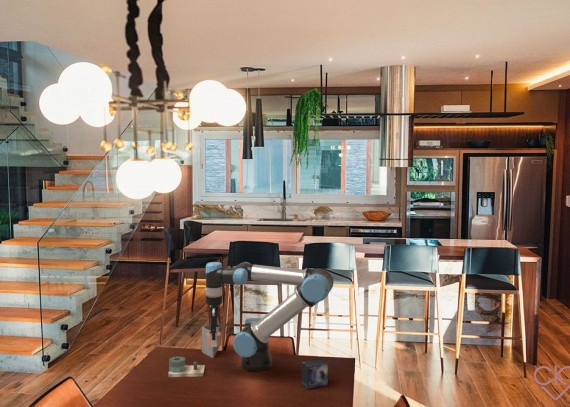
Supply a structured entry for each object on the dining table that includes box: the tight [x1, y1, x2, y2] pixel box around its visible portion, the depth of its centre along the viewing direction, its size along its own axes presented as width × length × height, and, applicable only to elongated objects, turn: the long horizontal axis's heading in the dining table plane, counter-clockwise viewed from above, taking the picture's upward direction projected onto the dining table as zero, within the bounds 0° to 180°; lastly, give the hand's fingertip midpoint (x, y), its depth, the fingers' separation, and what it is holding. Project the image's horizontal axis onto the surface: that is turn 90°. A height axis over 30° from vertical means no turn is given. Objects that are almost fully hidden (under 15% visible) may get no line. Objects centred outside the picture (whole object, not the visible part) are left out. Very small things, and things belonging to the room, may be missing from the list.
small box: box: [300, 358, 329, 390], centre depth 232 cm, size 11×6×10 cm, turn 118°
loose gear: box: [206, 332, 222, 347], centre depth 245 cm, size 7×7×5 cm
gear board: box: [167, 356, 206, 378], centre depth 245 cm, size 16×10×6 cm, turn 95°
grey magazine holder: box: [201, 317, 221, 359], centre depth 272 cm, size 16×8×19 cm, turn 177°
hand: (214, 343), depth 246 cm, fingers closed on loose gear, 7 cm apart
